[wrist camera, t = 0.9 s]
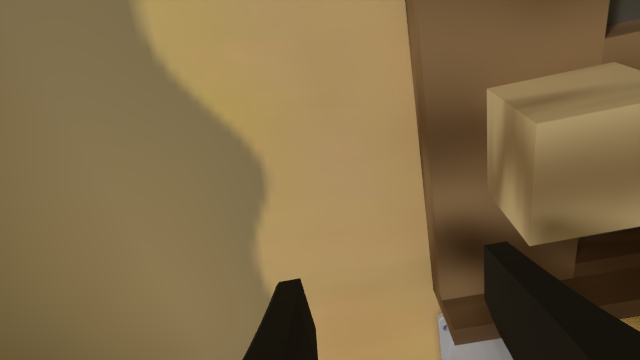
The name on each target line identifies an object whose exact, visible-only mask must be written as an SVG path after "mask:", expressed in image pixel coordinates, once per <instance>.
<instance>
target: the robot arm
mask: <svg viewBox="0 0 640 360" xmlns="http://www.w3.org/2000/svg"><path fill="white" fill-rule="evenodd" d="M484 299H485V302H486V304H487V307H488V309H489V311H490V314H491V316H492V319H493V321H494V323H495V326H496V328H497V330H498V333H499V335H500V336H501V338H500V339H494V340H487V341H481V342H475V343H469V344H463V345H456V346H455V345H454V342H453V339H452V337H451V334H450V332H449V329H448V326H447V324H446V321H445V319H444V316H443V313H441V314H440V315H439V316H438V317H437V322H438V333H439V343H440V354H441V360H640V331H638V330H636V329H634V328H633V327H631V326H629V325H627V324H626V323H624V322H622V321H621V320H619V319H617V318H616V317H614V316H613V315H611V314H609V313H608V312H606V311H605V310H603V309H601V308H600V307H598V306H597V305H595V304H594V303H592V302H591V301H589V300H588V299H586V298H585V297H583V296H582V295H580V294H579V293H577V292H576V291H574V290H573V289H571V288H570V287H569V286H567V285H566V284H564V283H563V282H561V281H560V280H558V279H557V278H556V277H554V276H553V275H551V274H550V273H549V272H547V271H546V270H545V269H543V268H542V267H540V266H539V265H538V264H536V263H535V262H534V261H532V260H531V259H530V258H528V257H527V256H526V255H524V254H523V253H522V252H520V251H519V250H518V249H516V248H515V247H514V246H512V245H511V244H510V243H508V242H507V241H505V242H500V243H494V244H489V245H484ZM445 325H446V326H445ZM243 360H318V354H317V340H316V328H315V325H314V321H313V318H312V315H311V312H310V309H309V305H308V302H307V299H306V296H305V293H304V289H303V286H302V283H301V280H300V279H294V280H289V281H283V282H279V283H278V285H277V286H276V288H275V291H274V293H273V296H272V298H271V301H270V303H269V306H268V308H267V310H266V313H265V315H264V317H263V319H262V322H261V324H260V326H259V328H258V330H257V332H256V334H255V336H254V338H253V340H252V342H251V344H250V346H249V348H248V350H247V352H246V354H245V356H244V358H243Z"/></svg>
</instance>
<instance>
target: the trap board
mask: <svg viewBox="0 0 640 360" xmlns="http://www.w3.org/2000/svg"><path fill="white" fill-rule="evenodd" d="M405 3H406V13H407V23H408V34H409V44H410V54H411V64H412V75H413V85H414V95H415V105H416V116H417V126H418V136H419V146H420V157H421V167H422V177H423V187H424V198H425V208H426V218H427V228H428V239H429V249H430V259H431V269H432V280H433V290H434V292H435V295H436V298H437V300H438V303H439V306H440V308H441V311H442V313H443V316H444V319H445V321H446V324H447V326H448V329H449V332H450V334H451V337H452V339H453V342H454V345H455V346H456V345H463V344H469V343H475V342H481V341H487V340H494V339H500V338H501V336H500V335H499V333H498V330H497V328H496V326H495V323H494V321H493V319H492V316H491V314H490V311H489V309H488V307H487V304H486V302H485V299H484V245H489V244H494V243H500V242H505V241H507V242H508V243H510V244H511V245H512V246H514V247H515V248H516V249H518V250H519V251H520V252H522V253H523V254H524V255H526V256H527V257H528V258H530V259H531V260H532V261H534V262H535V263H536V264H538V265H539V266H540V267H542V268H543V269H545V270H546V271H547V272H549V273H550V274H551V275H553V276H554V277H556V278H557V279H558V280H560V281H561V282H563V283H564V284H566V285H567V286H569V287H570V288H571V289H573V290H574V291H576V292H577V293H579V294H580V295H582V296H583V297H585V298H586V299H588V300H589V301H591V302H592V303H594V304H595V305H597V306H598V307H600V308H601V309H603V310H605V311H606V312H608V313H609V314H611V315H613V316H614V317H616V318H617V319H623V318H629V317H636V316H640V227H634V228H629V229H623V230H617V231H612V232H606V233H600V234H595V235H589V236H584V237H578V238H572V239H567V240H561V241H556V242H550V243H544V244H539V245H533V246H529V245H528V244H527V242H526V241H525V240H524V238H523V237H522V236H521V235H520V233H519V232H518V231H517V229H516V228H515V227H514V226H513V224H512V223H511V222H510V220H509V219H508V218H507V217H506V215H505V214H504V213H503V211H502V210H501V209H500V208H499V206H498V205H497V204H496V203H495V201H494V200H493V199H492V197H491V196H490V195H489V194H488V192H487V89H488V88H492V87H497V86H502V85H507V84H511V83H516V82H521V81H526V80H531V79H535V78H540V77H545V76H550V75H554V74H559V73H564V72H569V71H573V70H578V69H583V68H588V67H593V66H597V65H602V64H607V63H612V62H616V63H619V64H622V65H625V66H628V67H631V68H634V69H637V70H640V0H405Z"/></svg>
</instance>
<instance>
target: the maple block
mask: <svg viewBox="0 0 640 360" xmlns="http://www.w3.org/2000/svg"><path fill="white" fill-rule="evenodd" d="M487 192H488V194H489V195H490V196H491V197H492V199H493V200H494V201H495V203H496V204H497V205H498V206H499V208H500V209H501V210H502V211H503V213H504V214H505V215H506V217H507V218H508V219H509V220H510V222H511V223H512V224H513V226H514V227H515V228H516V229H517V231H518V232H519V233H520V235H521V236H522V237H523V238H524V240H525V241H526V242H527V244H528V245H529V246H533V245H539V244H544V243H550V242H556V241H561V240H567V239H572V238H578V237H584V236H589V235H595V234H600V233H606V232H612V231H617V230H623V229H629V228H634V227H640V70H637V69H634V68H631V67H628V66H625V65H622V64H619V63H616V62H612V63H607V64H602V65H597V66H593V67H588V68H583V69H578V70H573V71H569V72H564V73H559V74H554V75H550V76H545V77H540V78H535V79H531V80H526V81H521V82H516V83H511V84H507V85H502V86H497V87H492V88H488V89H487Z"/></svg>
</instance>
